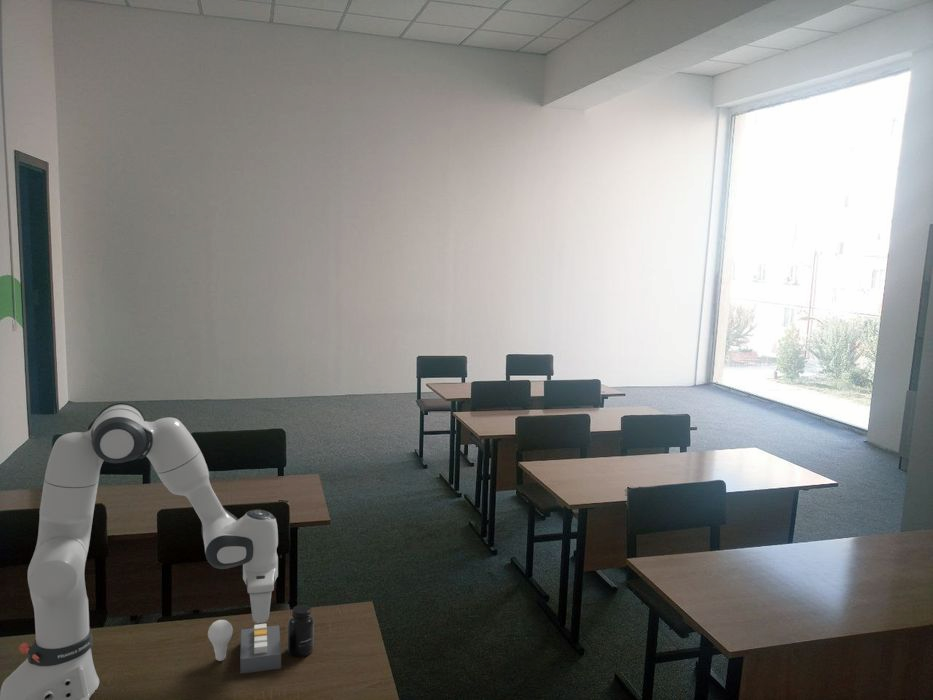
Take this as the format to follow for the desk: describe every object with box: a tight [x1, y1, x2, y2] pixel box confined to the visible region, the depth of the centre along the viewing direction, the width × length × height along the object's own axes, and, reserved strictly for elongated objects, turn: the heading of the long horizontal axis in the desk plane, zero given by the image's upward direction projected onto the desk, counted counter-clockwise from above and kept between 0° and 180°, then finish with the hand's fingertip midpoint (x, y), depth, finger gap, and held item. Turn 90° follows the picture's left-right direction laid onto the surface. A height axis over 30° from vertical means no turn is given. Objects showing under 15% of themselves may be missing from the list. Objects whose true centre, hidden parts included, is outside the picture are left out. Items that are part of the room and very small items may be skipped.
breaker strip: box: [239, 623, 282, 674], centre depth 189 cm, size 22×10×6 cm, turn 17°
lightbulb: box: [207, 619, 234, 662], centre depth 182 cm, size 6×6×11 cm
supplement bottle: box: [287, 604, 315, 658], centre depth 188 cm, size 7×7×12 cm
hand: (260, 620), depth 185 cm, fingers closed
